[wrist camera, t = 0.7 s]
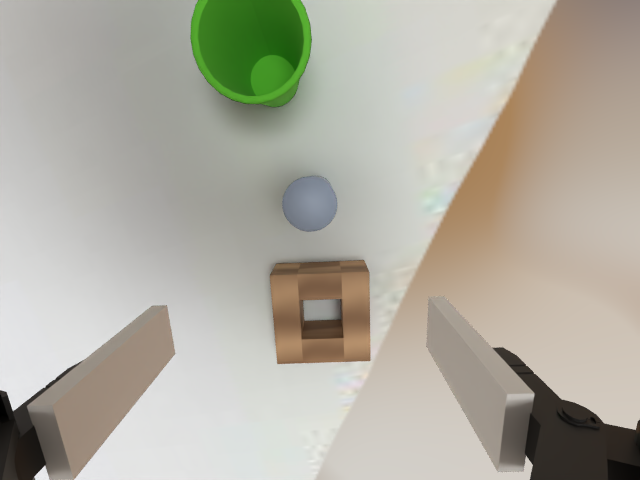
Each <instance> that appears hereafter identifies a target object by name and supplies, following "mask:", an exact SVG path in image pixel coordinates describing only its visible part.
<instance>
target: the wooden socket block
mask: <svg viewBox="0 0 640 480" xmlns="http://www.w3.org/2000/svg"><path fill="white" fill-rule="evenodd" d="M270 284H271V295H272V307H273V318H274V330H275V342H276V353H277V364H290V363H321V362H352V361H370V297H369V270H368V268H367V266H366V264H365V261H364V260H357V261H332V262H308V263H283V264H276V265H275V267H274V269H273V271H272V273H271V274H270ZM321 299H341V319H342V320H320V321H304V310H303V300H321Z"/></svg>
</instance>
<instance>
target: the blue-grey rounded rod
mask: <svg viewBox="0 0 640 480" xmlns="http://www.w3.org/2000/svg"><path fill="white" fill-rule="evenodd" d="M282 206H283V211H284V214H285V217H286V218H287V220H288V221H289V222H290V223H291V224H292V225H293V226H294V227H296V228H298V229H300V230H303V231H317V230H320V229H322V228H324V227H326V226H327V225H328V224H329V223H330V222H331V221H332V220H333V218H334V216H335V214H336V210H337V198H336V195H335V192H334V191H333V189H332V187H331V185H330V183H329V182H328V180H326V179H325V178H324V177H321V176H309V177H303V178H300V179H297V180H296V181H294V182H293V183H291V184H290V185H289V187H288V188H287V189H286V191H285V193H284V196H283V202H282Z"/></svg>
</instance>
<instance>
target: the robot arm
mask: <svg viewBox="0 0 640 480" xmlns="http://www.w3.org/2000/svg"><path fill="white" fill-rule="evenodd" d="M427 348H428V350H429V352H430V353H431V355H432V357H433V359H434V361H435V362H436V364H437V366H438V367H439V369H440V371H441V373H442V374H443V376H444V378H445V380H446V382H447V383H448V385H449V387H450V388H451V390H452V392H453V394H454V395H455V397H456V399H457V401H458V403H459V404H460V406H461V408H462V410H463V411H464V413H465V415H466V417H467V419H468V420H469V422H470V424H471V425H472V427H473V429H474V431H475V433H476V434H477V436H478V438H479V440H480V441H481V442H482V445H483V447H484V448H485V450H486V452H487V454H488V455H489V457H490V459H491V461H492V462H493V464H494V466H495V468H496V469H497V471H498V472H514V471H515V472H516V471H517V472H519V471H524V464H525V457H526V456H527V457H528V458H529V460H530V461H531V463H532V464H533V468H532V472H531V477H530V480H640V420H639V421H638V423H637V428H636V430H633V429H628V428H623V427H618V426H613V425H608V424H604V423H603V422H602V420H601V419H600V418H599V417H598V416H597V415H596V414H594V413H593V412H591V411H590V410H588V409H587V408H585V407H583V406H580V405H578V404H576V403H573V402H569V401H565V400H561V399H560V398H559V397H558V396H557V395H556V394H555V393H554V392H553V391H552V390H551V389H550V388H549V387H548V386H547V385H546V384H545V383H544V382H543V381H542V380H541V379H540V378H539V377H538V376H537V375H536V374H534V372H533V371H532V370H531V369H530V368H529V367H528V366H526V364H525V363H524V362H523V361H521V359H520V358H519V357H518V356H516V355H515V354H513V353H511V352H510V351H508V350H506V349H504V348H492V347H491V346H490V345H489V344H488V343H487V342H486V341H485V340H484V339H483V337H482V336H481V335H480V334H479V333H478V332H477V331H476V330H475V329H474V328H473V327H472V326H471V325H470V324H469V322H468V321H467V320H466V319H465V318H464V317H463V316H462V315H461V314H460V313H459V312H458V311H457V310H456V308H455V307H454V306H453V305H452V304H451V303H450V302H449V301H448V300H447V299H446V298H445V297H444V296H441V297H429V300H428V323H427ZM174 355H175V350H174V344H173V338H172V332H171V326H170V320H169V315H168V309H167V305H164V306H151V307H150V308H149V309H147V310H146V311H145V312H144V313H142V314H141V315H140V316H139V317H137V318H136V319H135V320H134V321H132V322H131V323H130V324H129V325H127V326H126V327H125V328H124V329H122V330H121V331H120V332H119V333H117V334H116V335H115V336H114V337H112V338H111V339H110V340H109V341H107V342H106V343H105V344H104V345H102V346H101V347H100V348H99V349H97V350H96V351H95V352H94V353H92V354H91V355H90V356H89V357H87V358H86V359H85V360H83V361H81V362H79V363H78V364H76V365H74V366H72V367H70V368H68V369H67V370H66V371H64V372H63V373H62V374H61V375H59V376H58V377H57V378H56V380H53V381H52V382H50V383H49V384H48V385H46V387H45V388H43V389H41V390H40V391H39V392H37V393H36V394H35V395H34V396H32V397H31V398H30V399H29V400H27V401H26V402H25V403H23V404H22V405H21V406H20V407H18V408H17V409H16V410H14V411H12V408H11V404H10V401H9V398H8V395H7V392H5V391H0V480H35V478H34V476H35V475H36V474H37V473H38V472H39V471H40V470H41V469H42V468H43V467H44V466H46V469H47V472H48V475H49V479H50V480H74V479H75V478H76V476H77V475H78V474H79V473H80V472H81V470H82V469H83V468H84V467H85V465H86V464H87V463H88V462H89V460H90V459H91V458H92V457H93V455H94V454H95V453H96V452H97V450H98V449H99V448H100V447H101V445H102V444H103V443H104V442H105V440H106V439H107V438H108V437H109V435H110V434H111V433H112V432H113V430H114V429H115V428H116V427H117V425H118V424H119V423H120V422H121V421H122V419H123V418H124V417H125V416H126V414H127V413H128V412H129V411H130V409H131V408H132V407H133V406H134V404H135V403H136V402H137V401H138V399H139V398H140V397H141V396H142V394H143V393H144V392H145V391H146V389H147V388H148V387H149V386H150V384H151V383H152V382H153V381H154V379H155V378H156V377H157V376H158V375H159V373H160V372H161V371H162V370H163V368H164V367H165V366H166V365H167V363H168V362H169V361H170V360H171V358H172V357H173V356H174Z"/></svg>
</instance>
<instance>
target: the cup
mask: <svg viewBox="0 0 640 480" xmlns="http://www.w3.org/2000/svg"><path fill="white" fill-rule="evenodd" d="M311 42H312V38H311V28H310V22H309V19H308V16H307V13H306V9H305V7H304V5H303V4H302V2H301V0H198V2H197V4H196V6H195V10H194V13H193V17H192V20H191V44H192V50H193V55H194V58H195V60H196V63H197V65H198V68H199V70H200V71H201V73H202V74H203V76H204V77H205V79H206V80H207V82H208V83H209V84H210V85H211V86H212V87H214V88H215V89H216V90H217V91H218V92H219V93H221V94H222V95H224V96H226V97H227V98H229V99H231V100H234V101H237V102H241V103H244V104H263V105H267V106H270V107H279V106H283V105H284V104H286V103H288V102H289V101H290V100H291V99H292V98H293V96H294V95H295V93H296V90H297V87H298V83H299V79H300V77H301V76H302V74H303V73H304V71H305V68H306V65H307V63H308V60H309V57H310V50H311Z"/></svg>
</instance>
